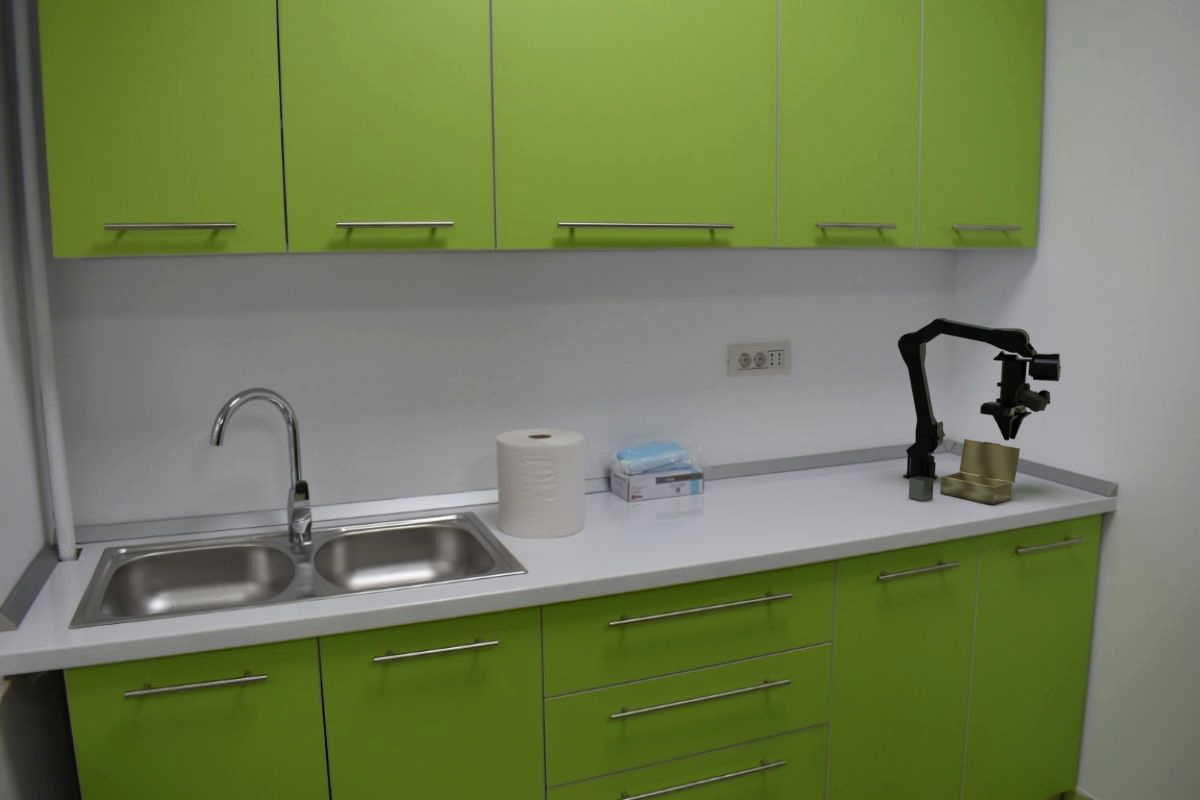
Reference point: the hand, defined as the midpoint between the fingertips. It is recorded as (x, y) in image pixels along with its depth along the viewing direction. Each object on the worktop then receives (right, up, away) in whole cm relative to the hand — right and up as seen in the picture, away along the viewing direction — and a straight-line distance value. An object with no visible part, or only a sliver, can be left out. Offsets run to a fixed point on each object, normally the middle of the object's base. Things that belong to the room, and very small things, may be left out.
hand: (1009, 439), depth 222 cm
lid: (-8, -5, -5) cm, 10 cm away
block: (-25, -14, -7) cm, 30 cm away
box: (-11, -14, -6) cm, 19 cm away
